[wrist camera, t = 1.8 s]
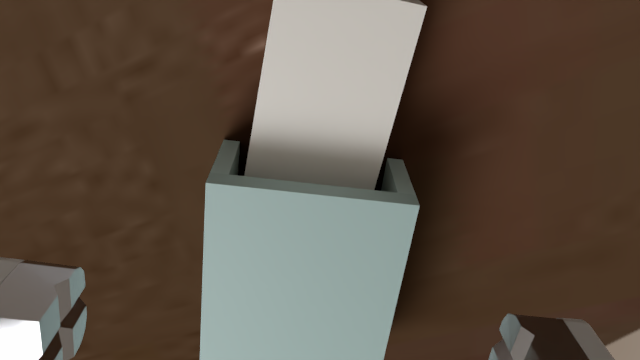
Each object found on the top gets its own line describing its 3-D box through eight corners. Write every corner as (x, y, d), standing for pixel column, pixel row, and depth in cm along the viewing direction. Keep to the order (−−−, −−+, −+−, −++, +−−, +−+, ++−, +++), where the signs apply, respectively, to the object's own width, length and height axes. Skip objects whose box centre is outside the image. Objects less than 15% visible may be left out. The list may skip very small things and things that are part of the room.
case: (402, 159, 27) (420, 205, 22) (364, 340, 32) (372, 406, 28) (223, 139, 26) (205, 182, 22) (214, 326, 31) (198, 391, 27)
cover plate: (414, -4, 24) (427, 6, 21) (343, 253, 30) (346, 286, 27) (282, -34, 23) (278, -28, 20) (237, 234, 29) (229, 266, 26)
